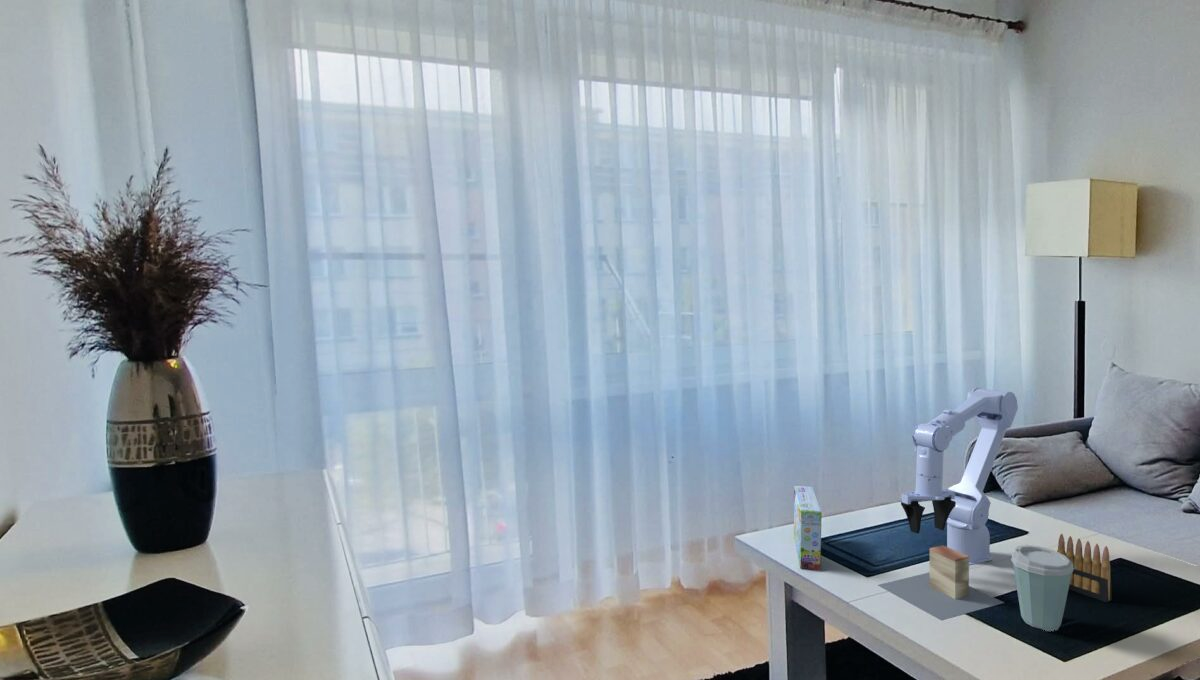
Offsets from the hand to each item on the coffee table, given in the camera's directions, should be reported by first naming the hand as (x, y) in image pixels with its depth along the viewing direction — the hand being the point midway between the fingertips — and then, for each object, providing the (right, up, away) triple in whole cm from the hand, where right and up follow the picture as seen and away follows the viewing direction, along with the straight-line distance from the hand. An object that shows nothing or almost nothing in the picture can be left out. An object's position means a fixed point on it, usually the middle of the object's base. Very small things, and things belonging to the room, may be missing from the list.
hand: (927, 530), depth 162 cm
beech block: (0, -11, -10) cm, 15 cm away
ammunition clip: (+29, -11, -12) cm, 33 cm away
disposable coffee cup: (+11, -12, -25) cm, 30 cm away
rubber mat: (-3, -12, -11) cm, 16 cm away
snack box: (-24, -11, +15) cm, 30 cm away
